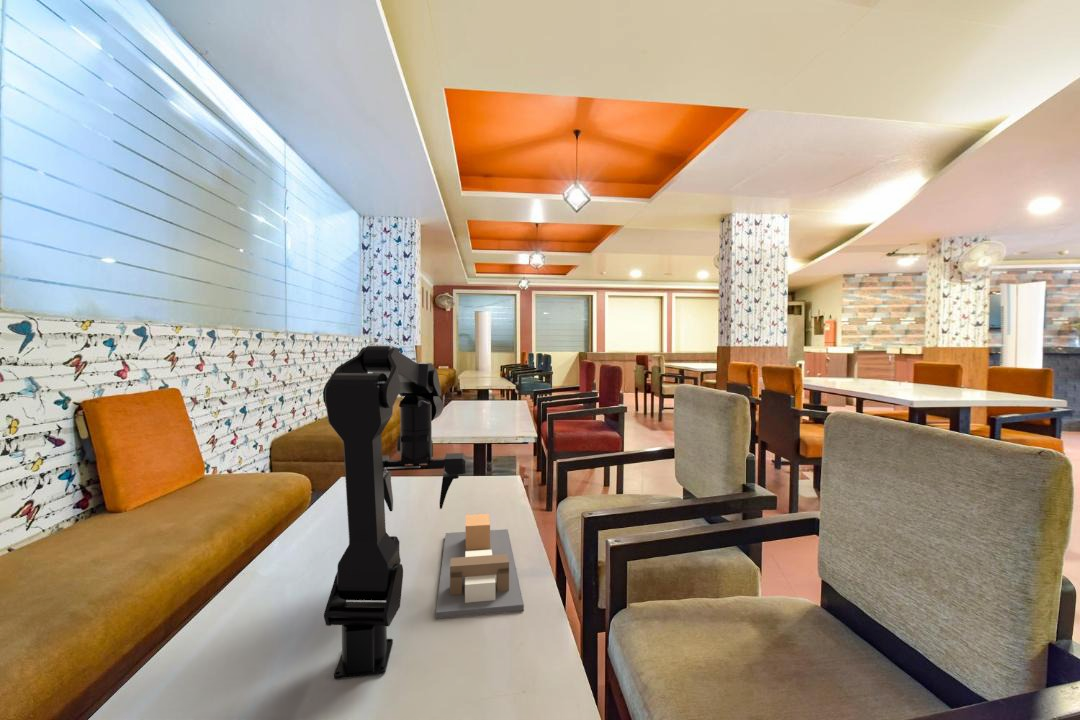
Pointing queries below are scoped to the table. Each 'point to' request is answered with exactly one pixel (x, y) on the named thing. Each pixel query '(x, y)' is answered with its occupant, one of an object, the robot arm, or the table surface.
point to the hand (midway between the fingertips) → (416, 509)
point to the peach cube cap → (477, 532)
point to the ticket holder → (478, 578)
